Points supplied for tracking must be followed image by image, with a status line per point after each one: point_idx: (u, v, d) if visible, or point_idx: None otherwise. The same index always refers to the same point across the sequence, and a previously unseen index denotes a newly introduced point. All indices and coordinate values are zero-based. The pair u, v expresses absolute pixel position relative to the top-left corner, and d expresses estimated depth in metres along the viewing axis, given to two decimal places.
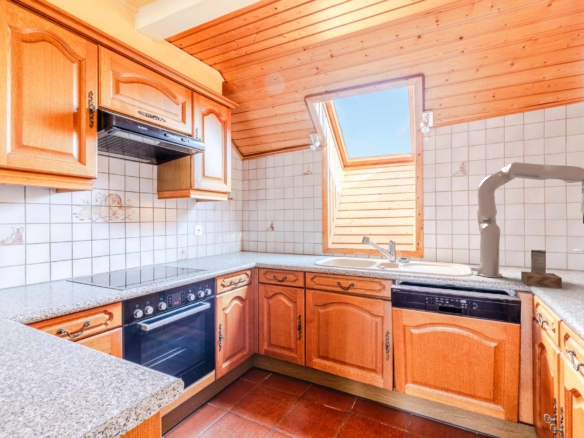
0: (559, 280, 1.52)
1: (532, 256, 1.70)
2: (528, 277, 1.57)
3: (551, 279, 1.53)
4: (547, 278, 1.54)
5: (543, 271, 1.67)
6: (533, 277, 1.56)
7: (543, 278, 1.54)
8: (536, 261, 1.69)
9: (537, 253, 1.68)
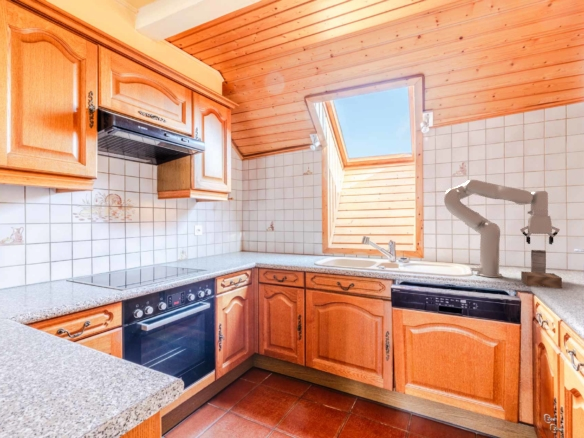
0: (559, 280, 1.52)
1: (532, 256, 1.70)
2: (528, 277, 1.57)
3: (551, 279, 1.53)
4: (547, 278, 1.54)
5: (543, 271, 1.67)
6: (533, 277, 1.56)
7: (543, 278, 1.54)
8: (536, 261, 1.69)
9: (537, 253, 1.68)
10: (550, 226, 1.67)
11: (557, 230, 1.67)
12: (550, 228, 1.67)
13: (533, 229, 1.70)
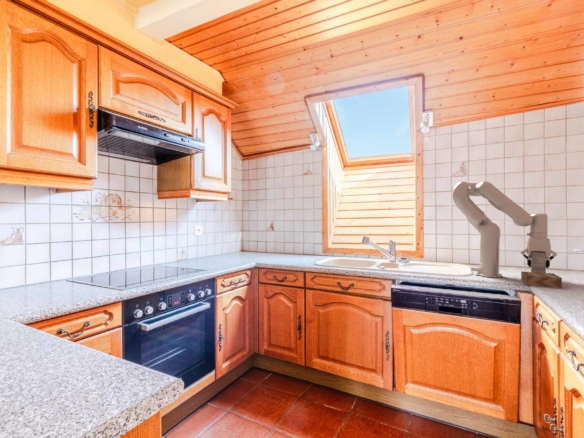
0: (559, 280, 1.52)
1: (532, 256, 1.70)
2: (528, 277, 1.57)
3: (551, 279, 1.53)
4: (547, 278, 1.54)
5: (543, 271, 1.67)
6: (533, 277, 1.56)
7: (543, 278, 1.54)
8: (536, 261, 1.69)
9: (537, 253, 1.68)
10: (549, 249, 1.67)
11: (554, 254, 1.68)
12: (549, 251, 1.67)
13: None
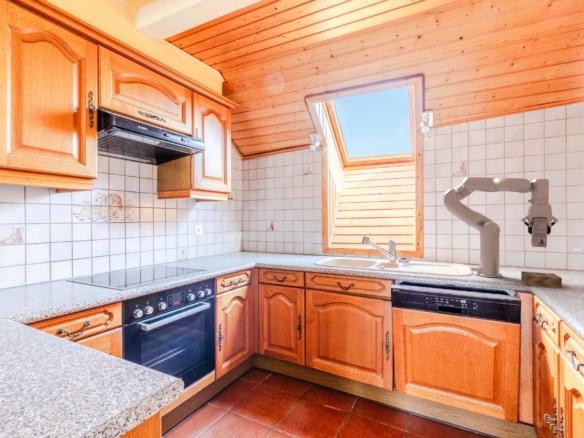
0: (559, 280, 1.52)
1: (534, 222, 1.66)
2: (528, 277, 1.57)
3: (551, 279, 1.53)
4: (547, 278, 1.54)
5: (544, 237, 1.64)
6: (533, 277, 1.56)
7: (543, 278, 1.54)
8: (538, 227, 1.65)
9: (539, 219, 1.65)
10: (550, 215, 1.64)
11: (556, 220, 1.65)
12: (550, 217, 1.64)
13: None
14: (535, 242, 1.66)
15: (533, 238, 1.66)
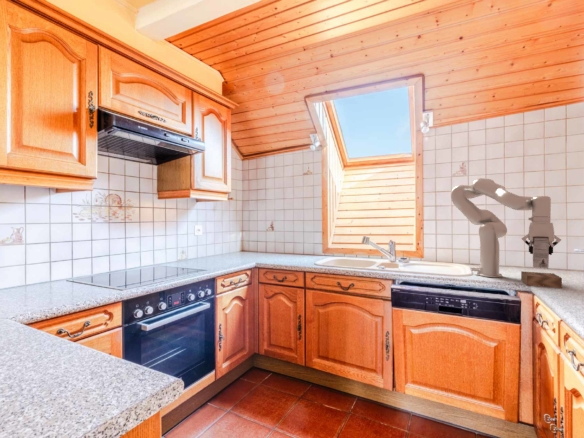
0: (559, 280, 1.52)
1: (535, 241, 1.58)
2: (528, 277, 1.57)
3: (551, 279, 1.53)
4: (547, 278, 1.54)
5: (546, 258, 1.55)
6: (533, 277, 1.56)
7: (543, 278, 1.54)
8: (539, 247, 1.57)
9: (539, 238, 1.57)
10: (552, 234, 1.56)
11: (558, 240, 1.56)
12: (552, 236, 1.56)
13: None
14: (536, 263, 1.58)
15: (534, 258, 1.58)
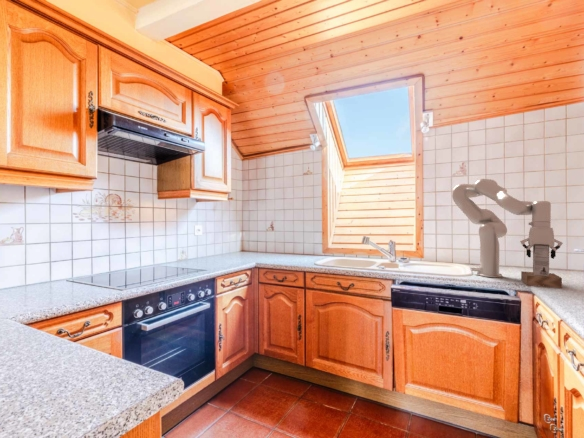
0: (559, 280, 1.52)
1: (535, 249, 1.58)
2: (528, 277, 1.57)
3: (551, 279, 1.53)
4: (547, 278, 1.54)
5: (547, 265, 1.55)
6: (533, 277, 1.56)
7: (543, 278, 1.54)
8: (539, 255, 1.57)
9: (540, 246, 1.57)
10: (552, 239, 1.56)
11: (560, 243, 1.56)
12: (552, 241, 1.56)
13: (534, 242, 1.59)
14: (537, 270, 1.58)
15: (534, 266, 1.58)
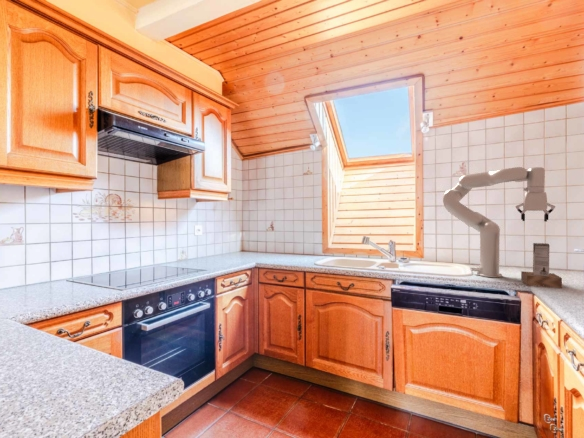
0: (559, 280, 1.52)
1: (535, 249, 1.58)
2: (528, 277, 1.57)
3: (551, 279, 1.53)
4: (547, 278, 1.54)
5: (547, 265, 1.55)
6: (533, 277, 1.56)
7: (543, 278, 1.54)
8: (539, 255, 1.57)
9: (540, 246, 1.57)
10: (545, 203, 1.65)
11: (553, 207, 1.65)
12: (545, 205, 1.65)
13: (528, 206, 1.69)
14: (537, 270, 1.58)
15: (534, 266, 1.58)
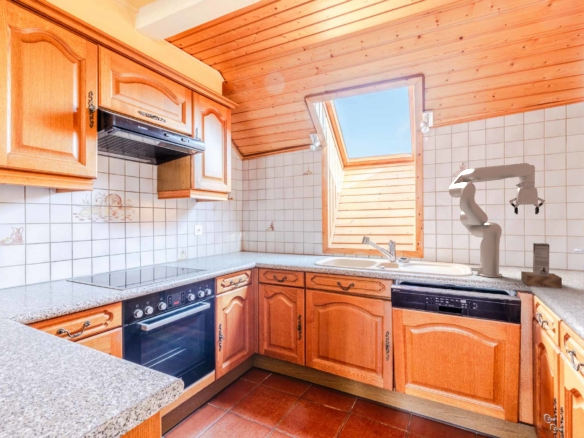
0: (559, 280, 1.52)
1: (535, 249, 1.58)
2: (528, 277, 1.57)
3: (551, 279, 1.53)
4: (547, 278, 1.54)
5: (547, 265, 1.55)
6: (533, 277, 1.56)
7: (543, 278, 1.54)
8: (539, 255, 1.57)
9: (540, 246, 1.57)
10: (536, 197, 1.81)
11: (543, 201, 1.81)
12: (536, 199, 1.81)
13: (521, 200, 1.84)
14: (537, 270, 1.58)
15: (534, 266, 1.58)
